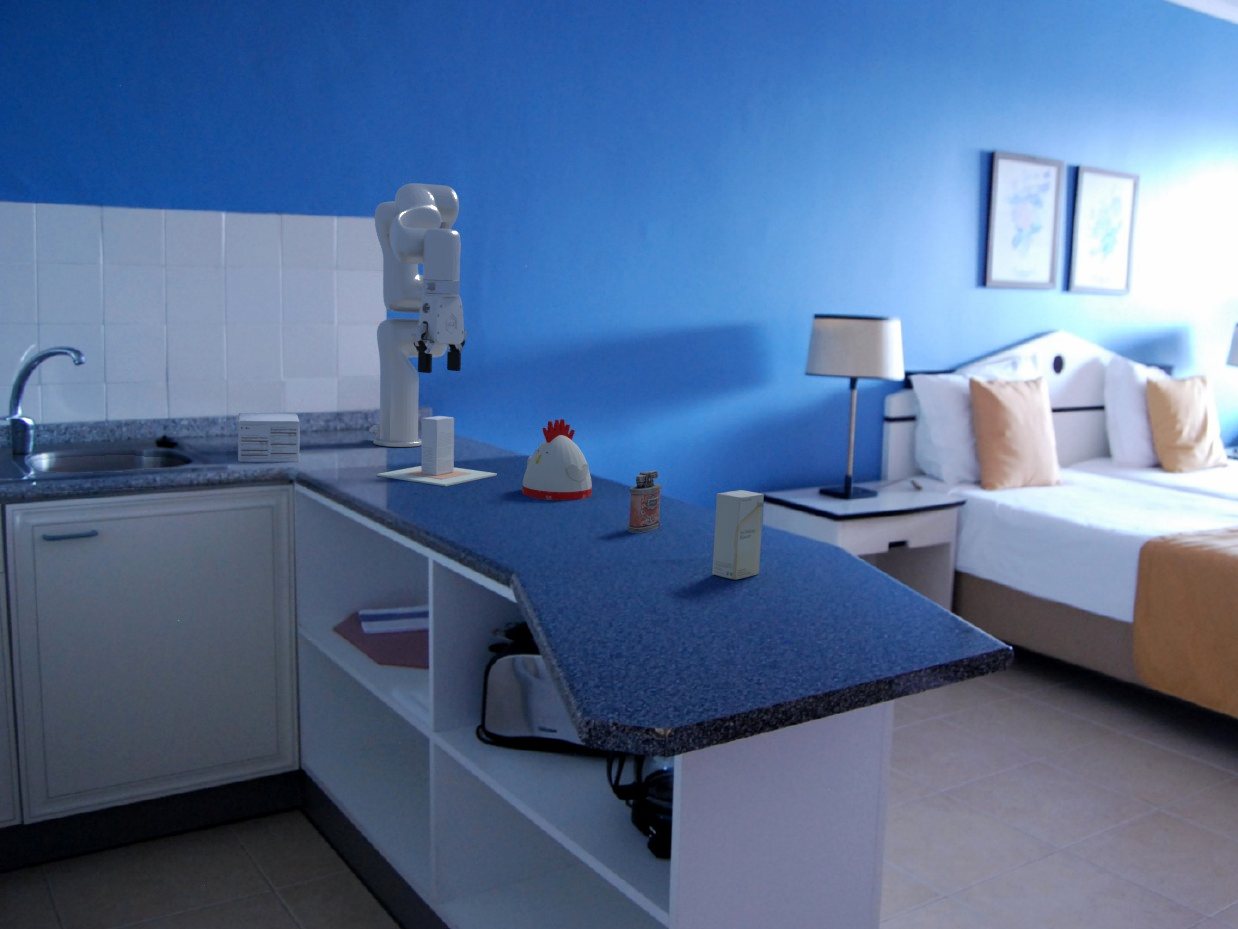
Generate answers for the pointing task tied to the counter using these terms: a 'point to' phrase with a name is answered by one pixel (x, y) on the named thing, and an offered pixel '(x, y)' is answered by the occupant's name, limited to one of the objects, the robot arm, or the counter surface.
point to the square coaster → (442, 480)
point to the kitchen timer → (557, 467)
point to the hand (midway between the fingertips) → (439, 371)
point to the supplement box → (268, 437)
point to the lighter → (645, 503)
